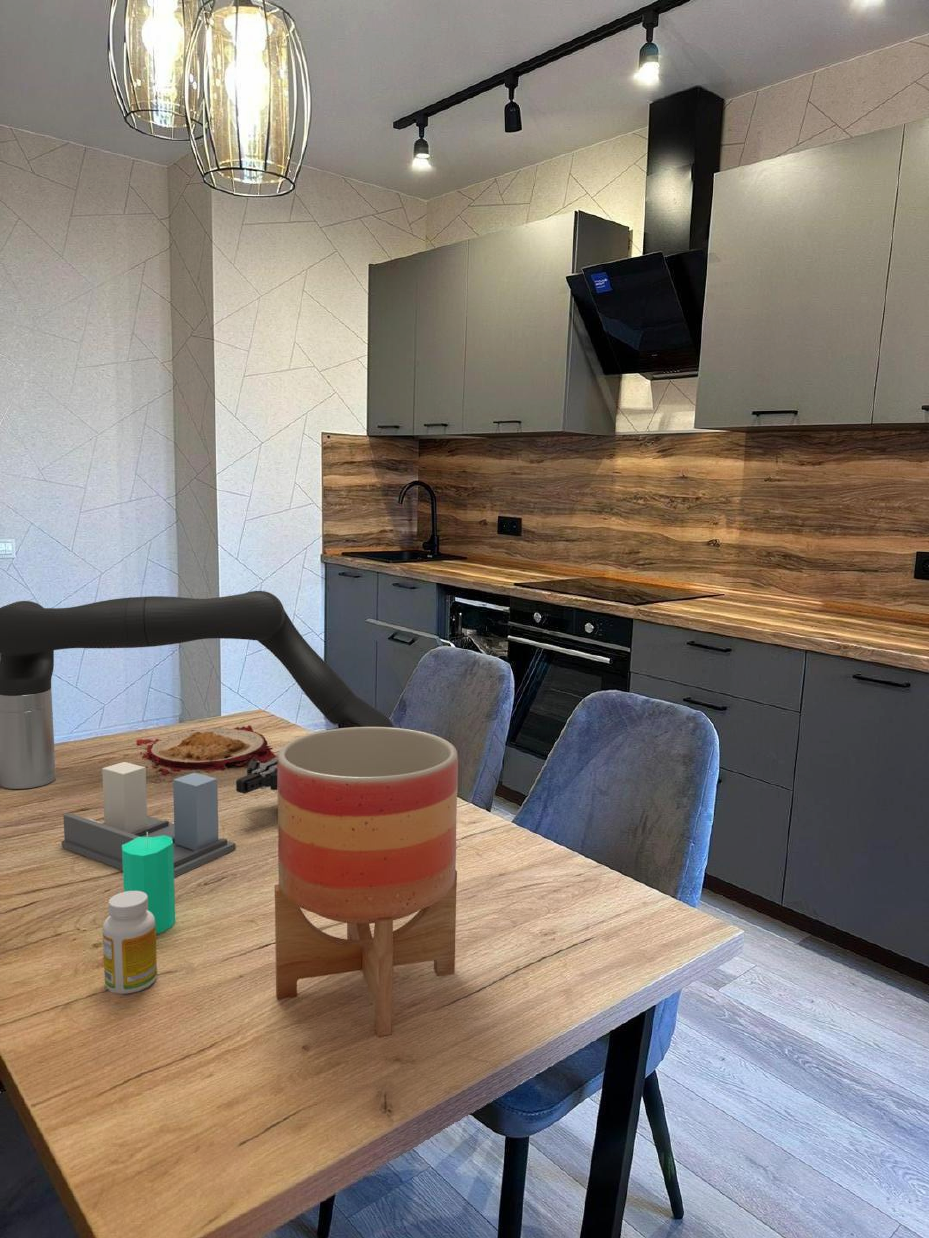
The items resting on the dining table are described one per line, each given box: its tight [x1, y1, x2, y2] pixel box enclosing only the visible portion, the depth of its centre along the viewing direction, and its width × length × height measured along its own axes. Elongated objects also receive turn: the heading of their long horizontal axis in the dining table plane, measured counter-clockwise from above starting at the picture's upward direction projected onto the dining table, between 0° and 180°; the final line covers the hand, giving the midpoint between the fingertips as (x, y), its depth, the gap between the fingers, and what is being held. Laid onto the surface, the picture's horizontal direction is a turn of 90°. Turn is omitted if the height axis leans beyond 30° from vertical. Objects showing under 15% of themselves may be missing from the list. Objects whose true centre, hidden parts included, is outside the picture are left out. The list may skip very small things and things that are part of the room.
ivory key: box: [101, 761, 148, 833], centre depth 132 cm, size 5×4×10 cm
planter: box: [274, 726, 459, 1038], centre depth 93 cm, size 20×20×27 cm
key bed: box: [61, 812, 236, 878], centre depth 129 cm, size 22×14×5 cm, turn 59°
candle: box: [122, 832, 176, 935], centre depth 106 cm, size 6×6×12 cm
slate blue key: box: [172, 772, 219, 850], centre depth 128 cm, size 5×4×10 cm
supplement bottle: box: [102, 891, 158, 995], centre depth 94 cm, size 5×5×10 cm
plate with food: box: [136, 725, 277, 776], centre depth 177 cm, size 25×26×4 cm
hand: (239, 786), depth 135 cm, fingers closed
